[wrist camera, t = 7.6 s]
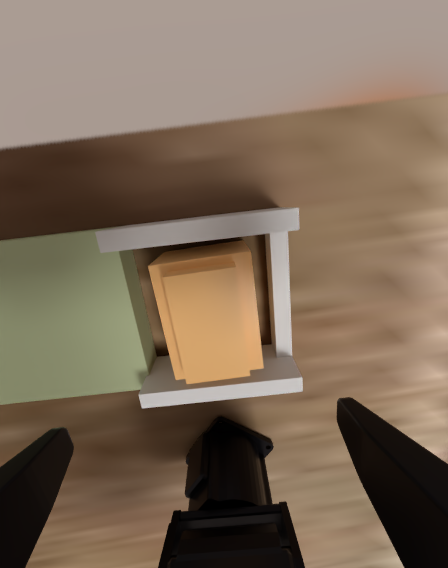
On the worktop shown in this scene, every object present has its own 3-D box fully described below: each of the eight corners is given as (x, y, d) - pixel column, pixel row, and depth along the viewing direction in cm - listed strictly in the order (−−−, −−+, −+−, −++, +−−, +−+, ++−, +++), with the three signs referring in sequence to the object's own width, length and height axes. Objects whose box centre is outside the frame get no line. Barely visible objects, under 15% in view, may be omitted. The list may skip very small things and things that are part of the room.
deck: (279, 207, 18) (298, 207, 14) (286, 354, 22) (302, 391, 17) (-99, 252, 18) (-197, 266, 14) (-29, 388, 22) (-89, 433, 18)
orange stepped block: (243, 239, 19) (253, 255, 13) (254, 333, 21) (267, 380, 15) (165, 251, 19) (141, 271, 13) (184, 342, 21) (172, 393, 16)
